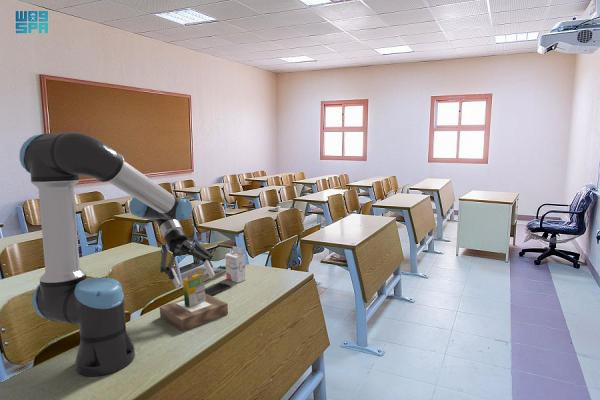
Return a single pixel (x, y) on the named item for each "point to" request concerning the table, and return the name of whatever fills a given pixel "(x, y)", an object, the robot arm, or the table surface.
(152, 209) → the robot arm
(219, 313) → the brown wooden flat block
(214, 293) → the phone
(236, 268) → the ink cartridge box
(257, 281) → the table surface
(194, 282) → the crayon box
